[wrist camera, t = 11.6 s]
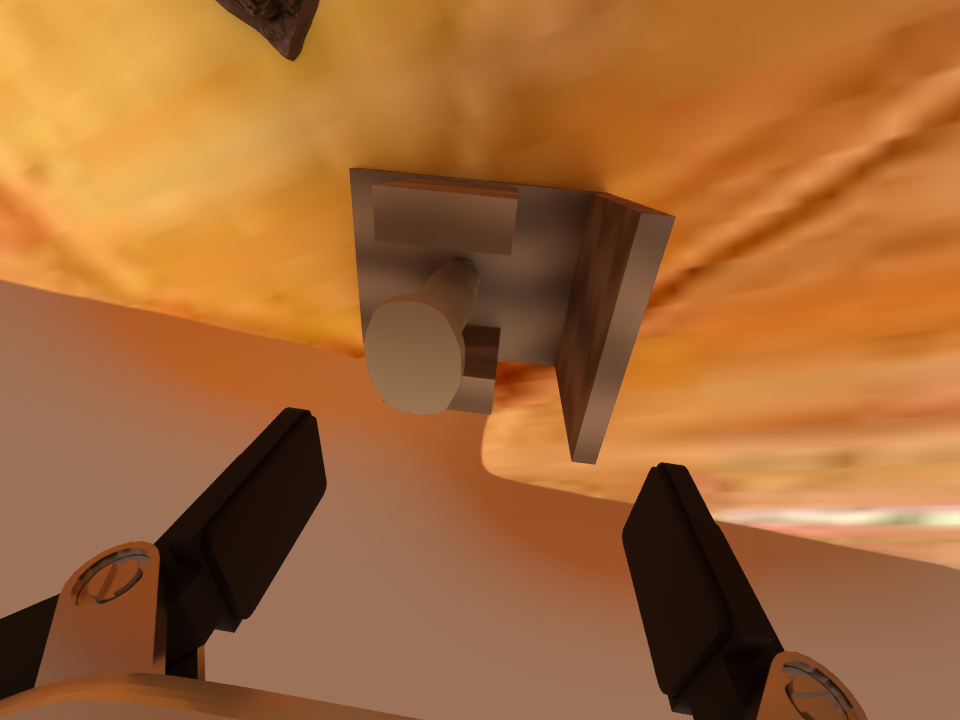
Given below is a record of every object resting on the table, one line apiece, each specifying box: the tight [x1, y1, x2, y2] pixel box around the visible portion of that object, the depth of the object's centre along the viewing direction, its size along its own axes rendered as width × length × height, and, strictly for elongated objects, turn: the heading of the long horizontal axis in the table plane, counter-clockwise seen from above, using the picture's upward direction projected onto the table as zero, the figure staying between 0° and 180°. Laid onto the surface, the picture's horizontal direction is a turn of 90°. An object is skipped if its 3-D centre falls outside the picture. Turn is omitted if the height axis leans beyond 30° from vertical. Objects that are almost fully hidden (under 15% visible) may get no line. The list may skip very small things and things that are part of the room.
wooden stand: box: [349, 168, 675, 465], centre depth 26 cm, size 15×20×14 cm
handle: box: [364, 259, 480, 414], centre depth 25 cm, size 5×6×15 cm
